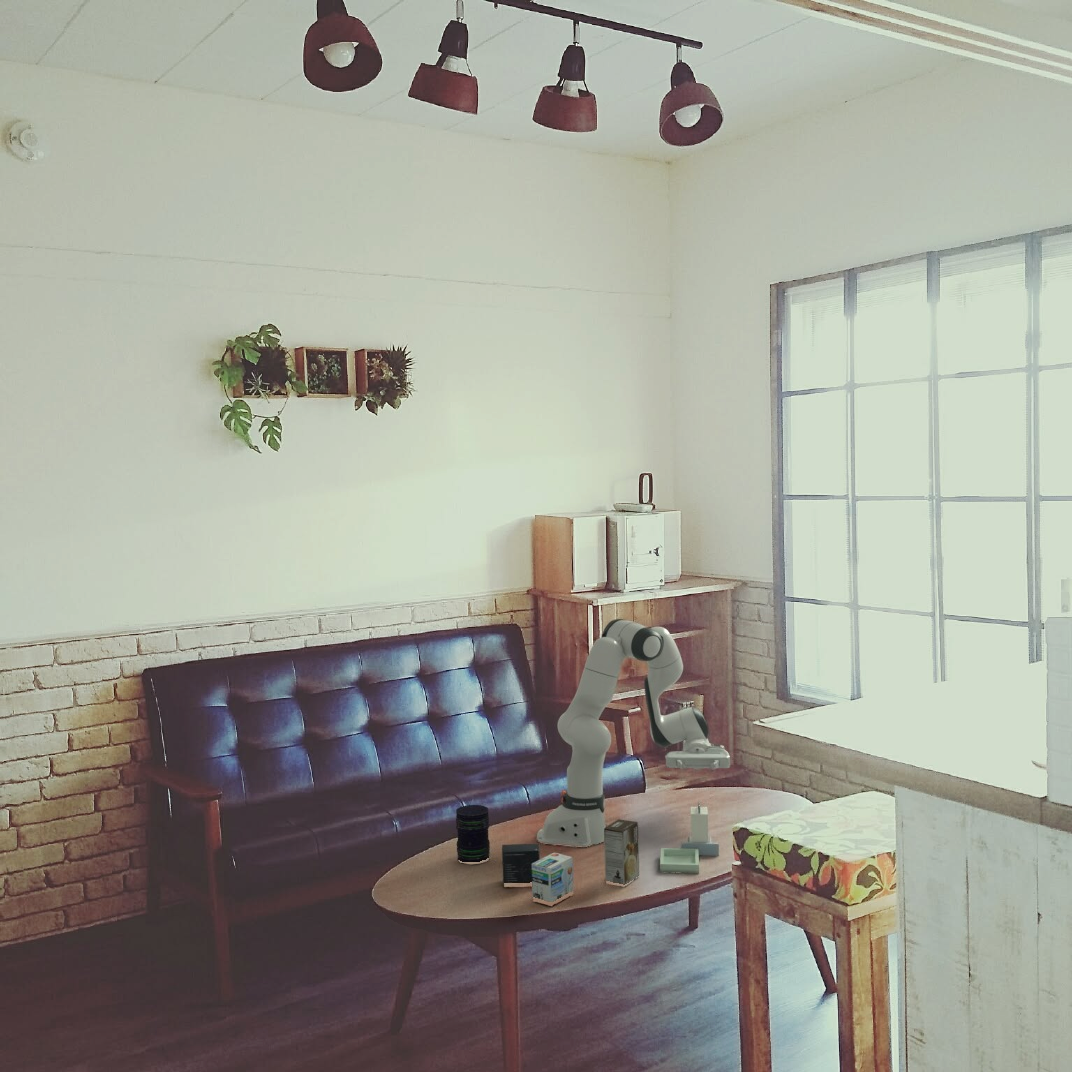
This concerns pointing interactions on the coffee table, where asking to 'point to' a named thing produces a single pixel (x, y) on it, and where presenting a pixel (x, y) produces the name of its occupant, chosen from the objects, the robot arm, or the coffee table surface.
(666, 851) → the tray
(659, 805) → the coffee table surface
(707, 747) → the robot arm
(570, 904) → the coffee table surface
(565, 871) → the light bulb box
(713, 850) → the dock
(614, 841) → the coffee box
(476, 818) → the storage jar
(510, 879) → the box
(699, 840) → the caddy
